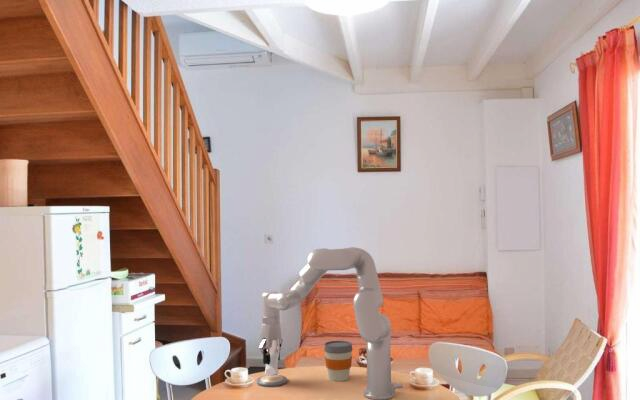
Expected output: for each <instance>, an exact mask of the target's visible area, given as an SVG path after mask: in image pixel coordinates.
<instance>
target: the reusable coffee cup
mask: <svg viewBox="0 0 640 400" xmlns="http://www.w3.org/2000/svg"><path fill="white" fill-rule="evenodd" d="M323 347H324V349H323V351H324V354H325V356H324V359H325V360H324V361H325V368H327V375H328V380H330V381H332V382H345V381H344V380H346V381H347V379H348V380H349V379H350V373H351V371H350V370H351V368H352V361H353V356H352V352H353V345H352V342H351V341H347V340H330V341H326V342H324V346H323Z"/></svg>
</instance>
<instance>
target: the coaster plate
mask: <svg viewBox="0 0 640 400" xmlns="http://www.w3.org/2000/svg"><path fill="white" fill-rule="evenodd" d="M287 382H288V378H287V376H285V375H282V374H277V375H272V376H269V375H262V376H260V377H258V378H257V379H256V384H257V385H258V386H260V387H265V388H274V387H275V388H276V387H279V386H280V387H281V386H283V385H286V384H287Z"/></svg>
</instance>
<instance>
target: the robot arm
mask: <svg viewBox="0 0 640 400" xmlns="http://www.w3.org/2000/svg"><path fill="white" fill-rule="evenodd" d="M351 269H355V272H356V280H357V285H358V292H356V293H355V294H354V297H353V304H352V305H353V311H354V316H355V319H356V320H355V321H356V324H357V325H356V326H357V331H358V334H359V336H360V337H361V338H362V340H363V341H364V342H366V345H365V346H366V349H365V350H366V352H365V353H366V385H367V386H366V388H365V389H364V390H363V396H364V397H366V398H367V399H371V400H390V399H393V398H395V396H396V390H397V389H404V385H403V382H399V383H397V381H396V382H395V381H394V382H393V381H392V366H391V365H392V363H391V362H392V361H391V360H392V359H391V356H392V355H391V340H392V324H391V321H390V319H389V317H388V316H387V315H385V314H384V313H380V311H379V309H380V308H381V307H382V306H383V302H384V298H383V293H382V289H381V288H382V287H381V285H380V279H379V276H378V271H377V267H376V263H375V260H374V259H373V256H372V255H371V254H370V253H369V252H368V251H366V250H365V249H362V248H359V247H345V248H336V249H335V248H334V249H329V248H317V249H314V250H312V251H311V252H310V253H309V255H308V257H307V262H306V263H305V265H304V266H303V267H302V268H301V269H300V270H299V273H298V275H299V279H298V280H297V282H296V283H295V284H294V285H293V286H292V287H291V288H290V290H286V291H284V292H278V291H276V290H275V291H273V290H272V291H264V292H263V293H262V295H261V297H262V298H261V301H262V303H261V305H262V310H261V311H262V314H261V315H262V319H261V320H262V322H261V323H262V324H261V325H260V326H261V327H260V333H259V337H260V338H259V346H258V349H259V350H260V352H261V354H262V359H263V360H262V364H264V365H265V364H270V355H269V351H270V348H271V347H272V342H273V340H276V339H278V338H279V358H278V361H280V359H281V354H280V353H281V348H282V345H283V343H284V340H283V338H282V327H281V322H280V321H281V320H280V318H281V316H280V315H281V313H280V311H288V310H290V309H293V308H296V307H297V306H299V305H300V304H301V303H302V302H303V301H304V300H305V299H306V298H307V296H308V295H310V293H311V291H312V290H313V288H314V287H315V285H316V284H317V283H318V282H319V281H320V280H321V278H322V277H323V276H325V274H326V273H327V272H328V271H330V272H331V271H346V270H347V271H348V270H351ZM265 345H267V347H265ZM265 349H267V351H266V350H265Z"/></svg>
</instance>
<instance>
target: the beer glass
mask: <svg viewBox="0 0 640 400" xmlns="http://www.w3.org/2000/svg"><path fill="white" fill-rule="evenodd" d="M265 347H267V345H265ZM265 350H266V351H267V349H265ZM269 355H270V364H264V365H265V370H264V376H266V375H269V376H272V375H280V374H279V373H280V371H279V368H278V367H279V365H278V364H279V363H278V362H279V360H278V358H279V338H278V339H276V340H273V342H272V347H271V348H270V351H269Z"/></svg>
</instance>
